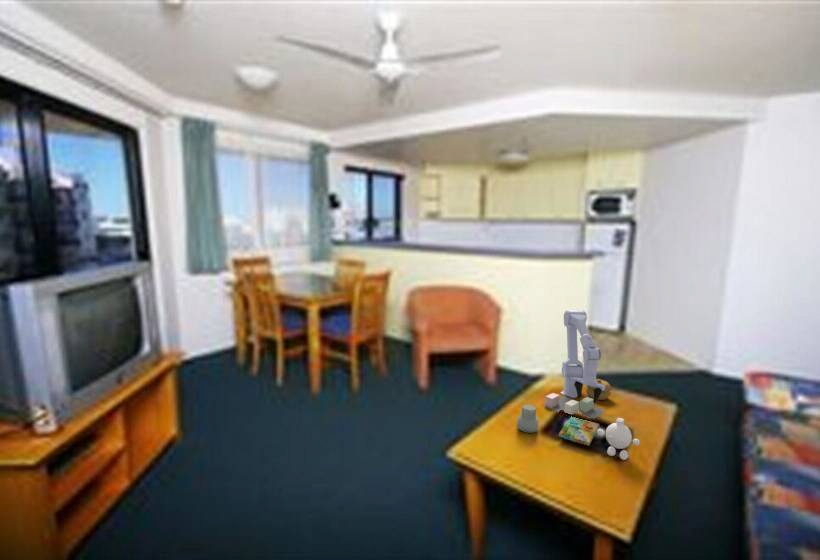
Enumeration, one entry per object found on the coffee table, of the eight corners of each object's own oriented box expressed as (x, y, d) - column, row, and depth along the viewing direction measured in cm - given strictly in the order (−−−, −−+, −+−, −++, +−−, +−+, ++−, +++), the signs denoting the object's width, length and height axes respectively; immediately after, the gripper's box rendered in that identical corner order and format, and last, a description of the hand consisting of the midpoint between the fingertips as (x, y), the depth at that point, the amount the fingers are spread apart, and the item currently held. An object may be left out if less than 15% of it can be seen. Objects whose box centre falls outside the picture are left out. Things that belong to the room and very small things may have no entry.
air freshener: (536, 437, 177) (538, 414, 175) (516, 433, 180) (518, 410, 178) (537, 425, 187) (539, 404, 186) (518, 422, 190) (520, 400, 188)
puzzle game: (599, 422, 183) (589, 440, 167) (598, 432, 184) (588, 451, 168) (571, 414, 190) (558, 431, 173) (570, 424, 190) (557, 442, 174)
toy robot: (593, 453, 166) (596, 417, 164) (597, 443, 174) (601, 408, 172) (636, 466, 158) (640, 428, 156) (638, 455, 166) (643, 419, 164)
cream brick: (571, 408, 205) (572, 399, 204) (578, 411, 202) (579, 402, 202) (564, 412, 200) (564, 403, 200) (571, 415, 198) (572, 405, 197)
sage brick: (586, 405, 209) (586, 396, 208) (593, 408, 206) (594, 399, 206) (579, 409, 204) (580, 400, 203) (586, 412, 201) (587, 403, 201)
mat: (563, 396, 220) (563, 395, 220) (606, 411, 204) (606, 410, 204) (542, 406, 207) (542, 406, 207) (587, 423, 191) (587, 423, 191)
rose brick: (552, 401, 212) (552, 392, 211) (558, 404, 210) (559, 395, 209) (544, 405, 207) (545, 396, 207) (551, 407, 205) (552, 398, 204)
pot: (602, 393, 226) (604, 375, 225) (614, 402, 215) (616, 383, 213) (581, 393, 226) (582, 375, 224) (591, 402, 214) (593, 383, 213)
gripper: (571, 370, 205) (568, 397, 207) (601, 379, 195) (598, 407, 196) (578, 367, 210) (575, 393, 212) (608, 375, 199) (605, 403, 201)
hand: (587, 400), depth 204 cm, fingers open, 7 cm apart
